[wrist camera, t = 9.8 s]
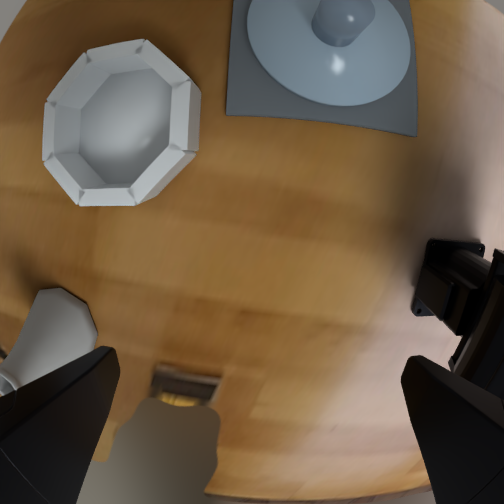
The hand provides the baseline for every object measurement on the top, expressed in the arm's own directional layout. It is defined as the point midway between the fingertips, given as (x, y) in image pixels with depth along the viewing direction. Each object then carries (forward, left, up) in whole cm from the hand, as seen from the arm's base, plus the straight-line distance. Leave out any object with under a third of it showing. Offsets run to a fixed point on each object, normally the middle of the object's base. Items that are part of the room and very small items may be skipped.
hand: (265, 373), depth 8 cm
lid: (-4, -15, -12) cm, 20 cm away
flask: (+17, +8, -13) cm, 23 cm away
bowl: (+9, -8, -13) cm, 18 cm away
